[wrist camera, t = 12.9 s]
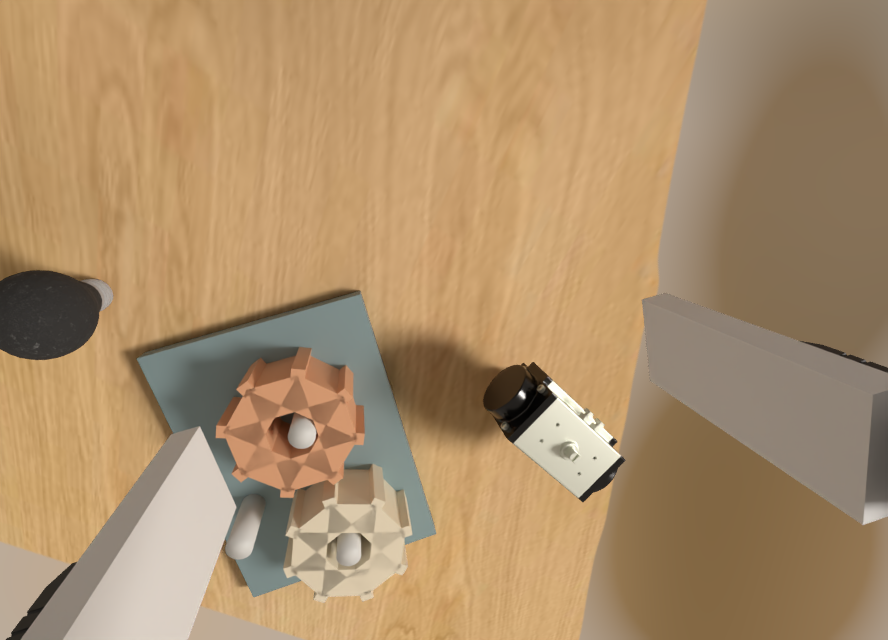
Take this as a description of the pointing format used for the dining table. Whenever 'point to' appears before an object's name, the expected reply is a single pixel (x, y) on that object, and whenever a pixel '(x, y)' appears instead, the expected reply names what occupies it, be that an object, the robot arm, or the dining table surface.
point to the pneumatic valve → (553, 429)
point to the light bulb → (49, 313)
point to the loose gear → (266, 436)
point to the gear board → (272, 340)
